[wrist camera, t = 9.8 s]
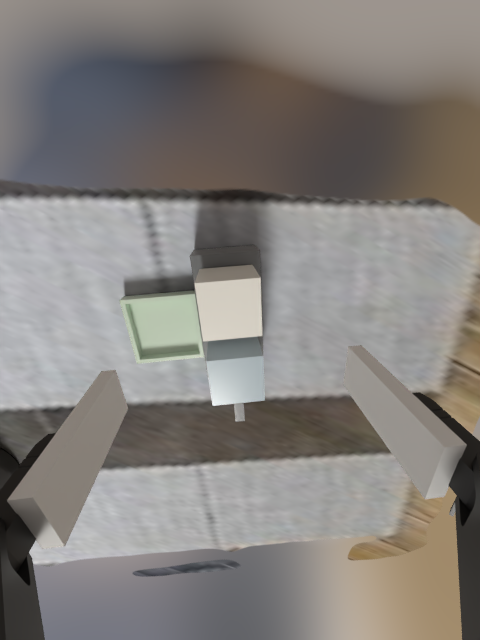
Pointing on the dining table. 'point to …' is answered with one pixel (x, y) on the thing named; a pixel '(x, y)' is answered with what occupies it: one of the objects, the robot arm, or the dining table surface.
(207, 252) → the strip
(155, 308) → the tray
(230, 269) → the plug
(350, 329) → the dining table surface
